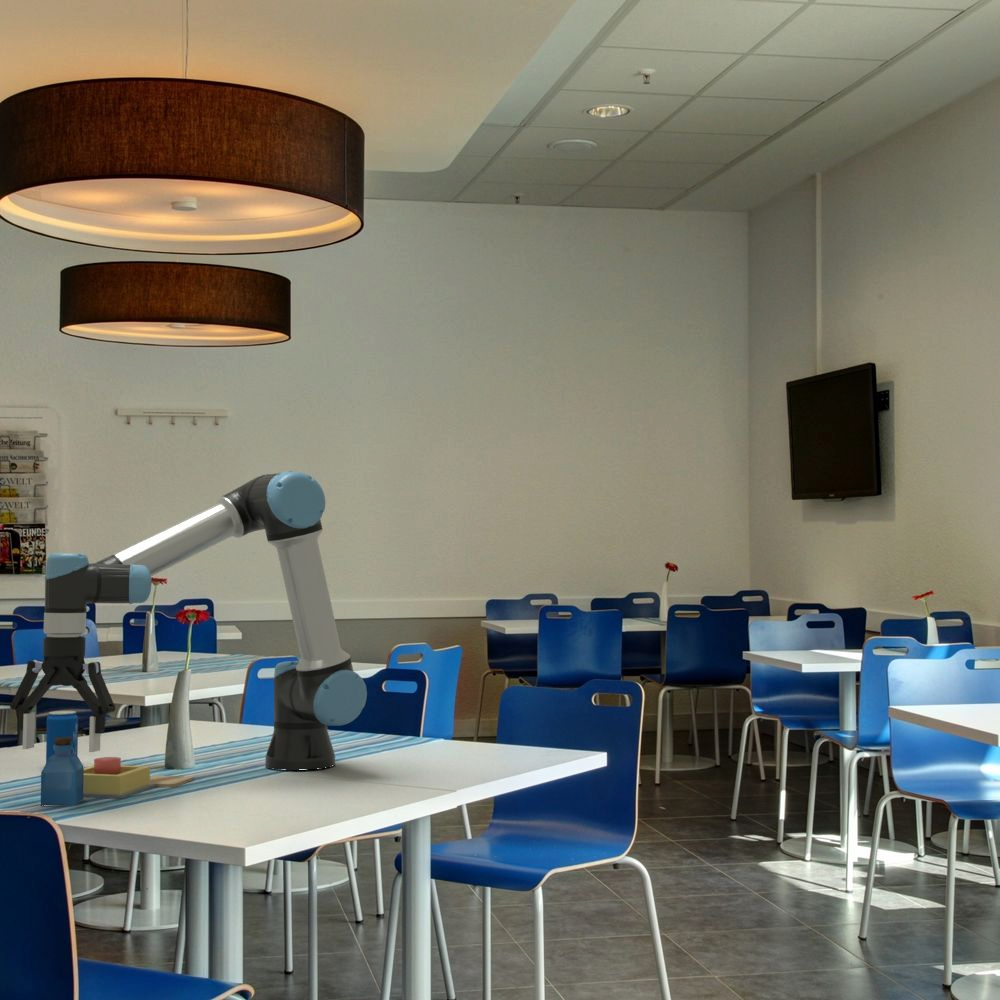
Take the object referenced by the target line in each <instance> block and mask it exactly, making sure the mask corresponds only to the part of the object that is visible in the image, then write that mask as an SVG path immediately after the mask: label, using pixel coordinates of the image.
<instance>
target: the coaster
mask: <svg viewBox="0 0 1000 1000" xmlns="http://www.w3.org/2000/svg"><path fill="white" fill-rule="evenodd" d="M194 780H195V776H185V775H184V776H182V775H180V776H179V775H178V776H177V775H155V774H154V775H150V783H155V784H156V787H155V788H157V787H158V788H176V787H178V786H182V785H183V784H186V783H190V782H192V781H194ZM189 781H190V782H189ZM181 784H182V785H181Z"/></svg>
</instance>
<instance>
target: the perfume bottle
mask: <svg viewBox="0 0 1000 1000" xmlns="http://www.w3.org/2000/svg"><path fill="white" fill-rule="evenodd" d="M54 740H55V744H54V745H53V750H54V751H55V755H53V756H51V757H49V759H48V761H47V762H46V761H45V765H44V766H43V768H42V769H41V772H40V807H45V806H44V805H75V806H77V805H78V804H79V803H81V802H82V801H83V800H84V797H83V777H84V768H85V767H84V764H83V763H82V761H81V759H80V758H79V756H78V755H77V754H71V750H73V744H71V740H72V737H57V738H54ZM82 799H83V800H82ZM81 800H82V801H81ZM80 801H81V802H80ZM78 802H79V803H78ZM77 803H78V804H77ZM76 804H77V805H76ZM42 805H43V806H42Z"/></svg>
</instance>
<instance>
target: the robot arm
mask: <svg viewBox="0 0 1000 1000" xmlns="http://www.w3.org/2000/svg"><path fill="white" fill-rule="evenodd" d="M325 509H326V496H325V492H324V490H323V488H322V487H321V485H320V483H319V482H318V481H317V480H316V479H315V478H313V477H312V476H311V475H309V474H307V473H305V472H300V471H292V470H289V471H282V472H278V473H271V474H270V473H269V474H268V473H267V474H262V475H260V476H257V477H255V478H253V479H250V480H249V481H247V482H246V483H244V484H242V485H241V486H238V487H236V488H235V489H233V490H232V491H229V492H227V493H225V494H224V495H221V496H219V497H218V498H217V500H216V504H214V505H212V506H210V507H208V508H206V509H204V510H202V511H200V512H198V513H195V514H194V515H192V516H191V515H190V516H189V517H187V518H185V519H182V520H181V521H179V522H177V523H175V524H173V525H171V526H168V527H167V528H164V529H162V530H161V531H160V530H159V532H157V533H154V534H152V535H150V536H148V537H145V538H144V539H142V540H140V541H137V542H135V543H134V544H132V545H129V546H127V547H125V548H123V549H121V550H118V551H117V552H115V553H113V554H112V555H109V556H107V557H104V558H103V559H101V560H98V561H96V562H95V563H93V562H92V563H90V561H89V557H88V555H87V554H86V553H66V552H65V553H64V552H63V553H59V552H57V553H55V552H54V553H50V554H49V555H48V556H47V558H46V564H45V576H44V613H43V633H44V634H45V635H46V636H44V638H43V640H42V641H43V643H42V644H43V646H42V648H43V649H42V655H43V660H42V661H40V660H39V659H34V660H28V661H27V663H26V672H25V675H24V676H23V679H22V680H21V682H20V683H19V684H20V685H19V686H18V688H17V691H16V692H15V695H14V696H13V699H12V701H11V702H10V705H9V708H10V709H11V710H13V711H17V712H18V713H19V730H20V731H22V750H29V749H34V748H35V735H36V734H35V732H36V731H35V730H36V712H33V710H34V708H35V706H36V705H37V704H38V703H39V702H40V701H41V700H42V698H43V697H44V695H45V694H46V693H47V692H48V691H49V689H50V688H51V687H52V686H56V687H57V686H64V687H69V686H72V688H73V689H75V690H76V691H77V692H78V694H79V695H80V696H81V698H82V699H83V701H84V702H85V705H87V707H88V708H89V709H90V711H91V712H92V716H89V733H88V735H89V737H88V738H89V739H88V740H89V741H88V752H89V753H95V752H99V751H101V734H103V733H105V731H106V729H105V728H106V715H108V714H110V713H112V712H115V710H116V707H115V703H114V701H113V699H112V696H111V694H110V692H109V690H108V689H109V688H108V687H107V684H106V682H105V679H104V677H103V675H102V669H101V667H102V666H101V663H100V662H99V661H93V662H92V661H91V662H87V663H86V662H85V655H86V637H85V636H84V635H83V634H85V633H86V631H87V626H86V625H87V609H88V608H87V604H128V605H133V604H142V603H145V602H146V601H147V600H148V599H149V597H150V596H151V591H152V577H153V576H155V575H157V574H159V573H161V572H163V571H165V570H167V569H168V568H172V567H173V566H175V565H177V564H179V563H181V562H183V561H185V560H188V559H190V558H191V557H193V556H195V555H197V554H200V553H201V552H203V551H206V550H207V549H209V548H211V547H213V546H216V545H217V544H219V543H221V542H223V541H225V540H227V539H229V538H231V537H234V538H237V539H240V538H241V537H243V536H246V535H248V534H250V533H254V532H257V531H262V530H265V534H266V535H265V536H266V541H267V543H268V544H270V545H272V546H273V547H275V548H276V550H277V551H276V552H277V556H278V560H279V564H280V569H281V573H282V577H283V583H284V587H285V588H284V589H285V591H286V592H285V593H286V595H287V601H288V604H289V605H288V606H289V608H290V609H289V610H290V613H291V614H290V615H291V617H292V623H293V627H294V628H293V629H294V634H295V636H296V641H297V645H298V650H299V654H300V659H299V660H289V661H282V662H278V663H277V664H276V665H275V667H274V675H273V676H274V677H273V679H272V680H273V733H272V734H271V735H272V736H271V739H270V742H269V745H268V749H267V750H266V755H265V768H267V767H269V768H274V769H286V770H299V769H317V768H325V767H330V766H332V765H334V764H335V765H336V755H335V750H334V748H333V744H332V740H331V737H330V735H329V731H328V726H333V727H334V726H344V725H347V724H350V723H351V722H353V721H354V720H355V719H357V718H358V717H359V715H360V714H361V712H362V710H363V709H364V708H365V706H366V702H367V698H368V697H367V695H368V692H367V685H366V683H365V681H364V679H363V678H362V677H361V676H360V675H359V674H358V673H357V672H356V671H354V668H353V663H352V659H351V655H350V654H349V653H348V652H347V651H345V650H343V649H342V647H341V643H340V639H339V633H338V629H337V628H338V627H337V625H336V624H337V623H336V619H335V616H334V611H333V606H332V602H331V597H330V591H329V587H328V581H327V578H326V574H325V570H324V569H325V568H324V565H323V561H322V554H321V551H320V546H319V541H318V539H319V537H320V535H321V533H322V532H323V525H322V520H321V518H322V516H323V514H324V512H325ZM42 671H43V673H44V676H42V678H41V679H40V680H39V682H38V684H37V685H36V687H35V688H34V689H33V691H32V688H33V686H34V685H35V682H36V680H37V678H38V676H39V673H41V672H42ZM85 672H86V674H87V675H88V677H89V680H90V682H91V685H92V688H93V690H94V691H93V690H92V688H91V687H90V686H89V684H88V681H87V679H86V678H85V676H84V675H83V674H84V673H85ZM31 691H32V692H31ZM269 768H268V769H269ZM330 768H331V767H330ZM274 769H273V770H274ZM325 769H326V768H325Z"/></svg>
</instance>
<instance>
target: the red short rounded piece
mask: <svg viewBox="0 0 1000 1000" xmlns="http://www.w3.org/2000/svg"><path fill="white" fill-rule="evenodd" d="M121 761H122V758H121V757H117V756H116V757H115V756H105V757H104V756H103V757H96V758H94V759H93V765H94V774H110V775H118V774H121V766H122V762H121Z"/></svg>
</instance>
